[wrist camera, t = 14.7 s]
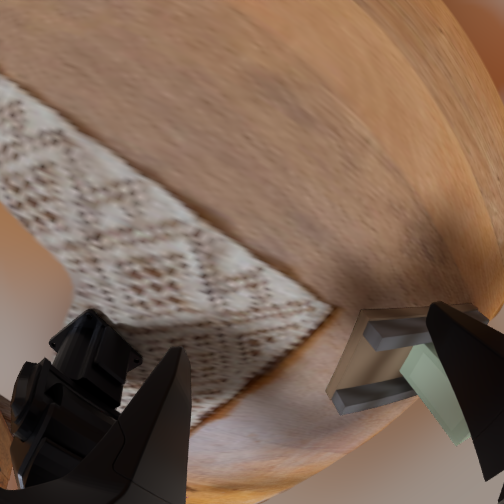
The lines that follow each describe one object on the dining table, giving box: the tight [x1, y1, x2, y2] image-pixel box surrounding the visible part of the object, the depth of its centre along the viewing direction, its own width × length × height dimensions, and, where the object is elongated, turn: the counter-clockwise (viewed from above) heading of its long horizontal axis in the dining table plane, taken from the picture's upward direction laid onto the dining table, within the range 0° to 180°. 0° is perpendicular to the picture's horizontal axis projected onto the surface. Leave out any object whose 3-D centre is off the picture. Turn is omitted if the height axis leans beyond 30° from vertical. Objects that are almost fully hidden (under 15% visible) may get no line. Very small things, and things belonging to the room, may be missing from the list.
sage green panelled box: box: [400, 342, 471, 446], centre depth 22 cm, size 3×5×12 cm, turn 170°
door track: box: [326, 303, 489, 415], centre depth 27 cm, size 20×11×4 cm, turn 80°
